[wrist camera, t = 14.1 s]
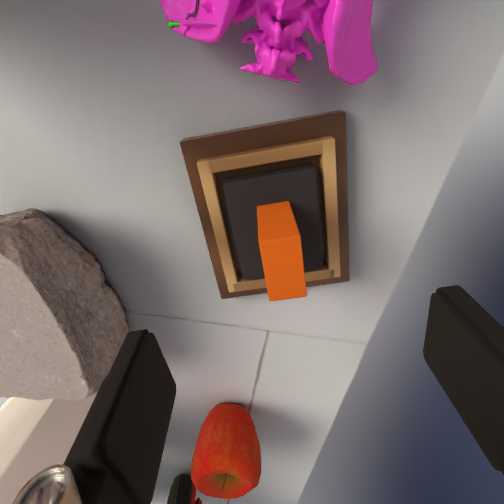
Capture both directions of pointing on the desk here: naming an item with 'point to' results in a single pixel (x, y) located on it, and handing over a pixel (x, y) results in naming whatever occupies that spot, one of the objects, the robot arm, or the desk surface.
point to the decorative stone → (53, 312)
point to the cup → (36, 438)
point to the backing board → (262, 159)
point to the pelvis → (286, 32)
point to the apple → (226, 453)
